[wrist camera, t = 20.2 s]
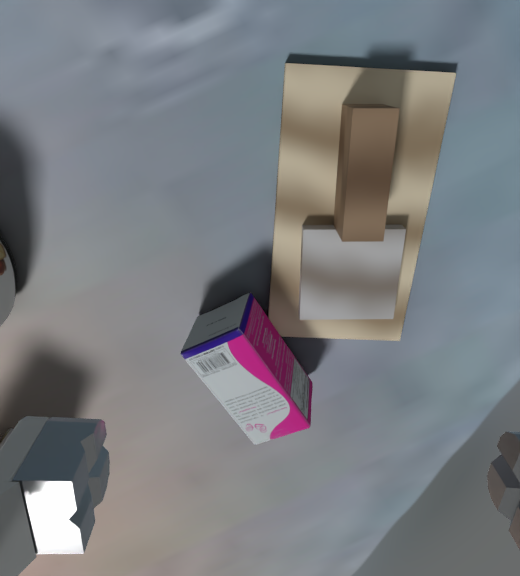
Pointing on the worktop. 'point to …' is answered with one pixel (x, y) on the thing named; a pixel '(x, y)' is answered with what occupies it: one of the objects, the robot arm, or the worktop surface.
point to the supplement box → (250, 370)
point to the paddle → (356, 226)
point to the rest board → (323, 173)
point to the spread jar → (6, 281)
